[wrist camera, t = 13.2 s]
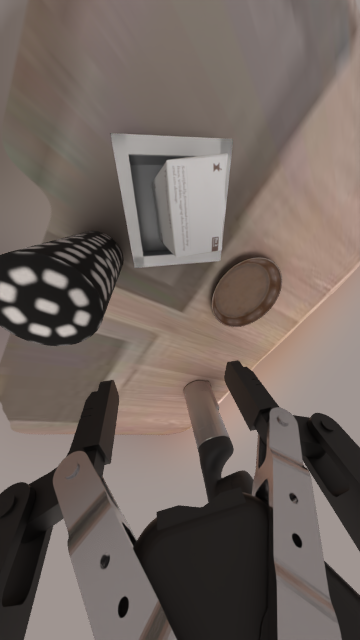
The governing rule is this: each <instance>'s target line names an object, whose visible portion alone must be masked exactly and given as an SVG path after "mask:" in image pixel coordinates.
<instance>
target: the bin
mask: <svg viewBox="0 0 360 640" xmlns="http://www.w3.org/2000/svg"><path fill="white" fill-rule="evenodd" d="M110 134H111V139H112V145H113V150H114V156H115V161H116V167H117V172H118V178H119V184H120V189H121V195H122V200H123V206H124V211H125V217H126V223H127V228H128V234H129V239H130V245H131V250H132V256H133V261H134V267H135V268H140V267H152V266H164V265H176V264H189V263H201V262H213V261H220V259H221V251H216V252H209V253H202V254H196V255H189V256H183V257H175V256H174V254H173V253H172V252H171V251H170V250H169V249H168V248H167V247H166V246H165V245H164V244H163V243H162V242H161V241H160V240H159V235H158V225H157V217H156V210H155V204H154V198H153V193H152V188H151V183H152V181H153V180H154V179H155V177H156V176H157V174H158V173H159V171H160V170H161V169H162V167H163V166H164V164H165V163H166V161H167V160H171V159H178V158H186V157H195V156H204V155H215V154H225V153H227V154H228V163H227V171H226V181H225V202H227V192H228V183H229V173H230V164H231V154H232V145H233V139H221V138H200V137H179V136H158V135H137V134H116V133H110ZM224 221H225V217H224V220H223V231H224ZM222 240H223V236H222Z"/></svg>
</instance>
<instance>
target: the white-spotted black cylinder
mask: <svg viewBox="0 0 360 640" xmlns="http://www.w3.org/2000/svg"><path fill="white" fill-rule="evenodd" d="M122 265H123V255H122V252H121V249H120V247H119V246H118V244H117V243H116V242H115V241H114V240H113V239H112V238H111V237H109V236H108V235H106V234H104V233H101V232H97V231H90V232H85V233H81V234H77V235H73V236H69V237H65V238H62V239H58V240H54V241H50V242H46V243H42V244H39V245H35V246H31V247H27V248H23V249H20V250H16V251H12V252H8V253H5V254H2V255H0V326H1V327H2V328H4V329H5V330H7V331H9V332H10V333H12V334H14V335H16V336H18V337H20V338H22V339H25V340H27V341H31V342H34V343H37V344H43V345H50V346H65V345H72V344H76V343H79V342H82V341H84V340H86V339H88V338H89V337H91V336H92V335H93V334H94V333H95V332H96V331H97V330H98V328H99V327H100V325H101V322H102V320H103V317H104V314H105V312H106V309H107V306H108V303H109V301H110V298H111V295H112V293H113V290H114V287H115V284H116V282H117V279H118V276H119V274H120V271H121V268H122Z"/></svg>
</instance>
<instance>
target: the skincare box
mask: <svg viewBox="0 0 360 640" xmlns="http://www.w3.org/2000/svg"><path fill="white" fill-rule="evenodd" d="M227 163H228V154H227V153H225V154H215V155H204V156H195V157H186V158H178V159H171V160H167V161H166V163H165V164H164V166H163V167H162V169H161V170H160V171H159V173H158V174H157V176H156V177H155V179H154V180H153V181H152V183H151V188H152V193H153V198H154V204H155V210H156V217H157V225H158V235H159V240H160V241H161V242H162V243H163V244H164V245H165V246H166V247H167V248H168V249H169V250H170V251H171V252H172V253H173V254H174V256H175V257H183V256H189V255H196V254H202V253H209V252H216V251H221V250H222V236H223V220H224V217H225V212H226V202H225V181H226V171H227Z"/></svg>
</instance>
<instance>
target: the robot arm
mask: <svg viewBox="0 0 360 640" xmlns="http://www.w3.org/2000/svg"><path fill="white" fill-rule="evenodd" d="M224 378H225V382H226V385H227V387H228V389H229V391H230V392H231V395H232V396H233V398H234V400H235V402H236V404H237V406H238V408H239V410H240V412H241V414H242V416H243V417H244V420H245V421H246V424H247V425H248V427H249V429H250V431H251V430H257V432H258V445H257V459H256V460H257V461H256V472H255V476H254V480H253V479H252V477H251V476H250V474H249V473H248V472H246V471H238V472H236V473H233V474H231V475H228V476H226V477H224V478H221V472H222V469H223V466H224V465H225V463H226V461H227V460H228V459H229V457H230V456H231V455H232V454H233V445H232V443H231V440H230V438H229V435H228V433H227V430H226V428H225V425H224V423H223V420H222V418H221V416H220V413H219V405H218V403H217V400H216V398H215V396H214V393H213V391H212V389H211V386H210V384H209V381H206V382H205V381H201V380H200V381H194V382H191V383H190V384H188V385H187V386H186V387H185V388H184V396H185V400H186V404H187V408H188V412H189V416H190V420H191V424H192V428H193V432H194V436H195V440H196V444H197V448H198V452H199V456H200V464H201V469H202V473H203V477H204V482H205V487H206V492H207V497H208V502H209V503H208V504H206V505H205V506H204V507H201V508H199V507H189V506H175V507H172V508H168V509H165V510H162V511H158V512H157V518H155V519H154V520H153V521H152V522H151V523H150V524H149V525H148V526H147V527H146V528H145V529H144V531H143V532H142V534H141V535H140V537H139V538H138V540H137V539H136V537H135V535H134V534H133V532H132V530H131V528H130V526H129V524H128V522H127V520H126V519H125V517H124V515H123V514H122V512H121V510H120V509H119V507H118V505H117V503H116V501H115V499H114V497H113V495H112V493H111V491H110V490H109V488H108V486H107V484H106V482H105V480H104V478H103V470H104V465H106V464H110V463H111V456H112V448H113V442H114V435H115V427H116V420H117V413H118V405H119V395H118V391H117V388H116V385H115V382H114V380H109V381H103V382H100V385H99V388H98V391H96V392H92V393H91V394H90V396H89V397H88V398H87V400H86V402H85V405H84V408H83V411H82V414H81V419H80V420H79V423H78V426H77V430H76V433H75V436H74V439H73V442H72V445H71V448H70V451H69V453H68V455H67V456H66V458H65V459H63V460H62V462H61V463H60V464H59V466H58V467H57V468H55V469H54V470H53V471H51V472H50V473H48V474H46V475H44V476H43V477H41V478H39V479H37V480H36V481H34V482H32V483H30V484H29V485H28V484H26V483H23V482H20V483H16V484H14V485H12V486H10V487H8V488H7V489H6V490H4V491H3V492H2V493H1V494H0V640H24V636H25V633H26V629H27V625H28V621H29V617H30V613H31V609H32V605H33V602H34V598H35V594H36V590H37V586H38V582H39V579H40V575H41V571H42V567H43V563H44V559H45V555H46V551H47V547H48V544H49V540H50V536H51V532H52V528H53V525H55V524H56V523H58V522H59V521H61V520H62V519H63V518H64V521H65V524H66V527H67V530H68V534H69V539H68V550H69V555H70V558H71V561H72V565H73V568H74V572H75V575H76V578H77V582H78V585H79V588H80V592H81V595H82V598H83V602H84V605H85V608H86V612H87V615H88V618H89V621H90V625H91V628H92V632H93V635H94V638H95V640H360V595H359V594H358V593H357V592H356V591H355V590H354V589H353V588H352V587H351V586H350V585H349V584H348V583H347V582H345V581H344V580H343V579H342V578H341V577H340V576H339V575H338V574H337V573H336V572H335V571H334V570H333V569H332V568H331V567H330V566H329V565H328V564H327V563H326V562H325V561H324V558H323V552H322V545H321V539H320V532H319V526H318V519H317V513H316V506H315V500H314V494H313V487H312V481H311V476H310V473H311V474H312V476H313V477H314V479H315V481H316V482H317V484H318V485H319V487H320V489H321V490H322V492H323V493H324V495H325V497H326V498H327V500H328V501H329V503H330V505H331V506H332V508H333V509H334V511H335V513H336V514H337V516H338V517H339V519H340V521H341V522H342V524H343V525H344V527H345V529H346V530H347V532H348V533H349V535H350V537H351V538H352V540H353V541H354V543H355V545H356V546H357V548H358V549H359V551H360V447H359V446H358V445H357V444H356V443H355V442H354V441H353V440H352V439H351V438H350V436H349V435H348V434H347V433H346V432H345V431H344V430H343V429H342V428H341V427H340V426H339V424H337V422H335V421H334V420H333V419H332V418H330V417H329V416H327V415H324V414H321V413H315V414H313V415H312V416H311V417H310V418H308V417H301V416H294V415H292V414H291V413H290V412H288V411H287V410H285V409H283V408H280V407H279V406H278V405H277V403H276V402H275V401H274V400H273V398H272V397H271V395H270V394H269V393H268V391H267V390H266V389H265V387H264V386H263V385H262V383H261V382H260V381H259V380H258V378H257V377H256V375H255V374H254V372H253V371H251V370H250V369H249V368H247V367H243V366H242V365H241V363H240V362H239V361H232V362H228V363H227V366H226V371H225V376H224ZM303 461H304V463H305V465H306V466H307V468H308V469H309V471H310V473H309V471H308V469H307V468H305V467H304V465H303Z"/></svg>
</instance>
